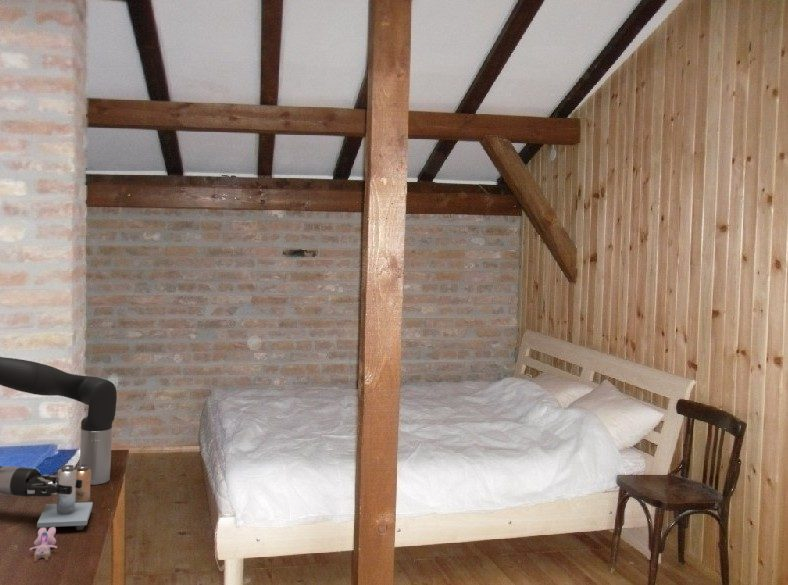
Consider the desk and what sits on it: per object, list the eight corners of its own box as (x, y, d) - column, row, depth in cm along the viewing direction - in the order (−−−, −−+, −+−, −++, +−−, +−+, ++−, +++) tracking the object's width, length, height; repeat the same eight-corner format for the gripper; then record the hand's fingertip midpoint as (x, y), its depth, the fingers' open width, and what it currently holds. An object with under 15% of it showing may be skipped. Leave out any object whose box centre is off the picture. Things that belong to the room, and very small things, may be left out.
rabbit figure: (55, 566, 175) (61, 532, 188) (55, 544, 173) (61, 512, 187) (26, 568, 173) (34, 534, 186) (26, 546, 171) (35, 513, 185)
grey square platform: (46, 515, 202) (46, 503, 202) (92, 513, 205) (92, 502, 205) (36, 534, 188) (37, 522, 188) (86, 532, 192) (86, 520, 192)
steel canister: (53, 508, 197) (55, 465, 196) (71, 505, 200) (73, 463, 199) (60, 514, 193) (62, 470, 193) (77, 510, 197) (79, 467, 196)
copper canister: (69, 506, 210) (71, 465, 209) (86, 502, 213) (87, 462, 212) (75, 510, 206) (77, 469, 206) (92, 507, 210) (93, 467, 209)
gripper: (1, 475, 190) (62, 481, 189) (33, 460, 204) (90, 466, 203) (0, 503, 191) (61, 510, 189) (32, 486, 205) (89, 492, 203)
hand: (76, 487), depth 196 cm, fingers closed on steel canister, 4 cm apart
